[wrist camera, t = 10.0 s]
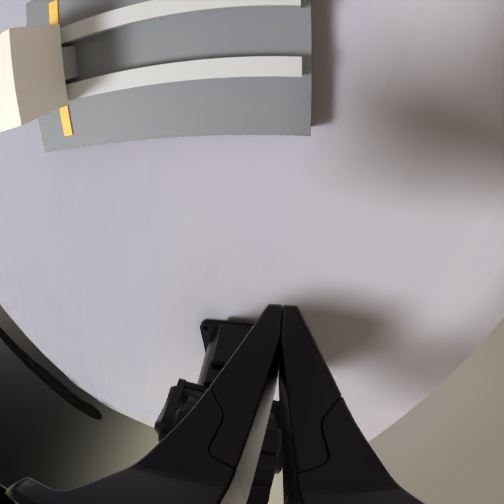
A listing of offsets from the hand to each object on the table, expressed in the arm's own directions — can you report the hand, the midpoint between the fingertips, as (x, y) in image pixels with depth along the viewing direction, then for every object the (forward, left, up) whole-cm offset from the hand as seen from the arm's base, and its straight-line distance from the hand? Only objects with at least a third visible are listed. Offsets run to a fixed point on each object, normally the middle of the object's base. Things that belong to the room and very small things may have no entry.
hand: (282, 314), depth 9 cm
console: (+8, +8, -12) cm, 16 cm away
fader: (+8, +14, -10) cm, 19 cm away
